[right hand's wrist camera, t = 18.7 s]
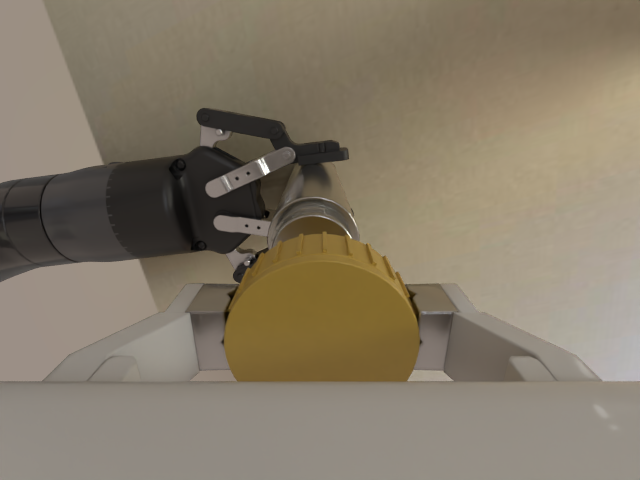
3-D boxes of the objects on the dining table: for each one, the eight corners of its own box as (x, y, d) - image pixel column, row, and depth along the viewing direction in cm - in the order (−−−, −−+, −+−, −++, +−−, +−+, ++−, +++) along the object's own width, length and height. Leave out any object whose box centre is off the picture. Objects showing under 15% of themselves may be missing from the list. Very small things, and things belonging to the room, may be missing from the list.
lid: (385, 385, 11) (396, 433, 9) (232, 365, 11) (215, 412, 9) (426, 245, 9) (449, 274, 8) (243, 218, 9) (225, 242, 7)
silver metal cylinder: (289, 156, 32) (253, 212, 13) (334, 150, 31) (359, 199, 13) (295, 200, 33) (271, 304, 15) (338, 194, 33) (367, 294, 15)
